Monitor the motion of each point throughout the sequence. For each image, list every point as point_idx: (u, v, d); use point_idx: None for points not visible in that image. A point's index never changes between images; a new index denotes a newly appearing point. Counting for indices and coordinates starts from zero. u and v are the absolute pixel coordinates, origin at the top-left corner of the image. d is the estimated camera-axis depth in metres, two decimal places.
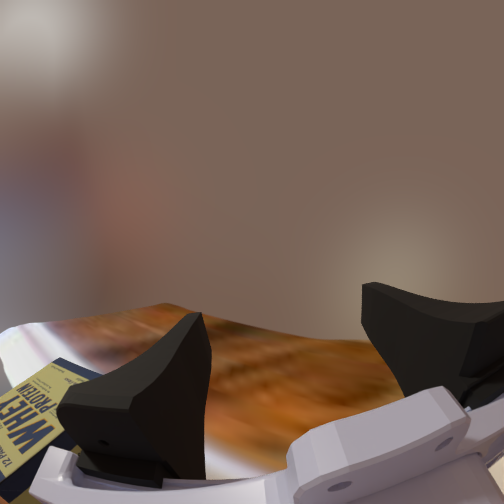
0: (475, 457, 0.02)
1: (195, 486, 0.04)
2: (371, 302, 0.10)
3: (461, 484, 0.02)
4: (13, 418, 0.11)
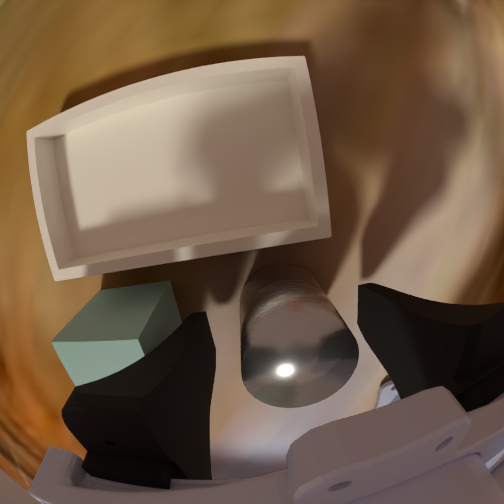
0: (475, 457, 0.02)
1: (195, 486, 0.04)
2: (367, 303, 0.10)
3: (461, 484, 0.02)
4: None
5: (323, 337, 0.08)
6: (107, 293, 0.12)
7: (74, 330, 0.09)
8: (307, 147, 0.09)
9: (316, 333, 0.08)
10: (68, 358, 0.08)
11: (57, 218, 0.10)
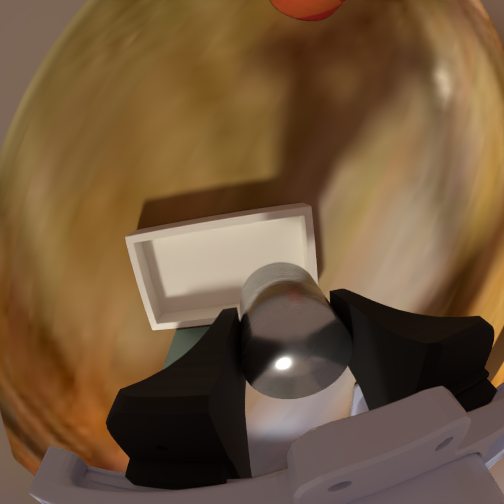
0: (475, 457, 0.02)
1: None
2: (337, 310, 0.10)
3: (461, 484, 0.02)
4: None
5: (317, 330, 0.09)
6: (183, 333, 0.21)
7: (175, 360, 0.17)
8: (308, 262, 0.18)
9: (310, 326, 0.09)
10: None
11: (151, 291, 0.19)
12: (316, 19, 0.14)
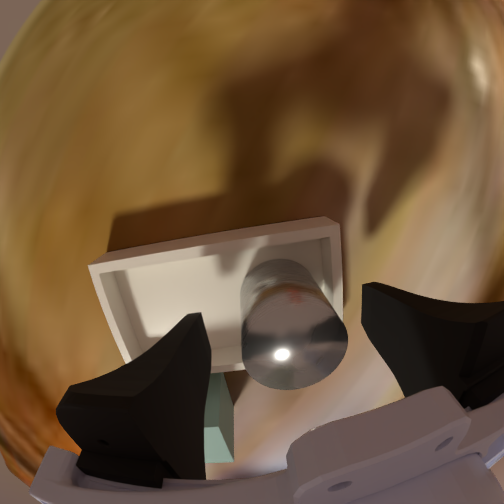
0: (475, 457, 0.02)
1: (195, 486, 0.04)
2: (371, 302, 0.10)
3: (461, 484, 0.02)
4: None
5: (314, 322, 0.09)
6: None
7: None
8: (332, 298, 0.13)
9: (307, 319, 0.09)
10: None
11: (128, 331, 0.14)
12: None
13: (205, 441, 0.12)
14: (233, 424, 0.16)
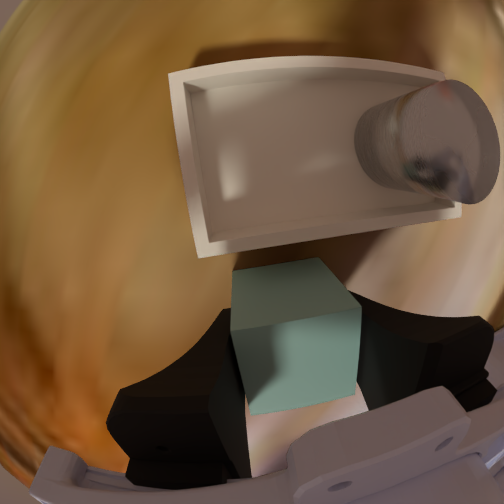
0: (475, 457, 0.02)
1: None
2: None
3: (461, 484, 0.02)
4: None
5: (475, 108, 0.05)
6: (248, 273, 0.12)
7: (255, 313, 0.09)
8: None
9: (470, 101, 0.05)
10: (252, 348, 0.08)
11: (201, 182, 0.10)
12: None
13: (330, 349, 0.08)
14: None
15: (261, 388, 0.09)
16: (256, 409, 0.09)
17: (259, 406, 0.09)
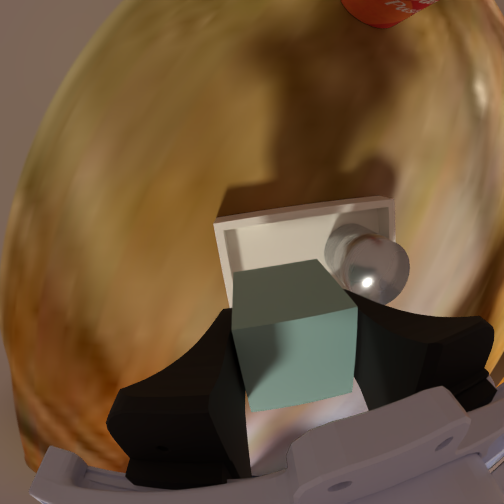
0: (475, 457, 0.02)
1: None
2: None
3: (461, 484, 0.02)
4: None
5: (392, 253, 0.14)
6: (249, 274, 0.12)
7: (255, 313, 0.09)
8: None
9: (389, 251, 0.14)
10: (252, 347, 0.08)
11: None
12: (384, 27, 0.14)
13: (327, 348, 0.09)
14: None
15: (261, 385, 0.09)
16: (256, 406, 0.09)
17: (260, 402, 0.09)
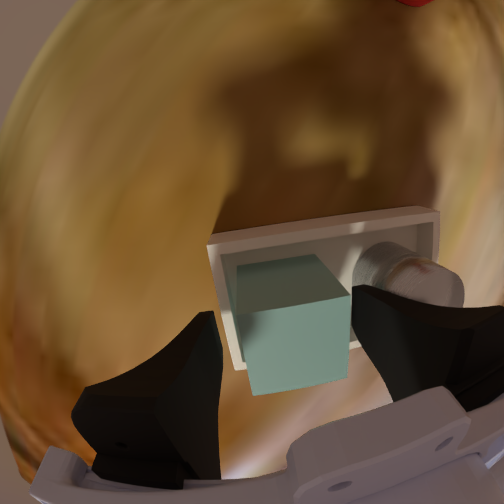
0: (475, 457, 0.02)
1: (195, 486, 0.04)
2: (360, 305, 0.10)
3: (461, 484, 0.02)
4: None
5: (449, 286, 0.09)
6: (251, 267, 0.13)
7: (257, 300, 0.10)
8: None
9: (446, 283, 0.09)
10: (254, 331, 0.09)
11: (235, 320, 0.14)
12: (415, 5, 0.10)
13: (323, 333, 0.09)
14: None
15: (262, 369, 0.10)
16: (257, 389, 0.10)
17: (260, 386, 0.10)
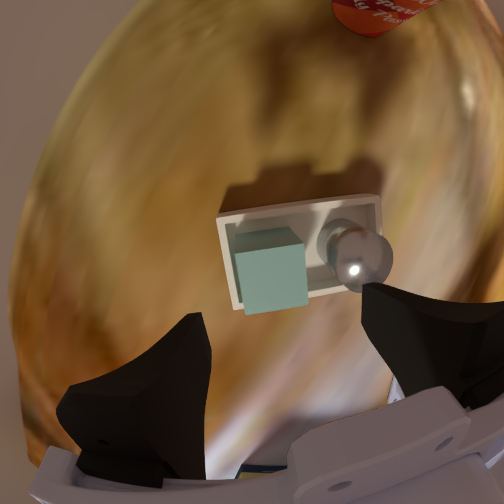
0: (475, 457, 0.02)
1: (195, 486, 0.04)
2: (371, 302, 0.10)
3: (461, 484, 0.02)
4: None
5: (376, 244, 0.16)
6: (245, 234, 0.20)
7: (247, 247, 0.16)
8: None
9: (373, 241, 0.16)
10: (245, 265, 0.16)
11: (234, 272, 0.21)
12: (373, 36, 0.16)
13: (288, 268, 0.16)
14: None
15: (251, 293, 0.16)
16: (248, 309, 0.17)
17: (250, 307, 0.17)
